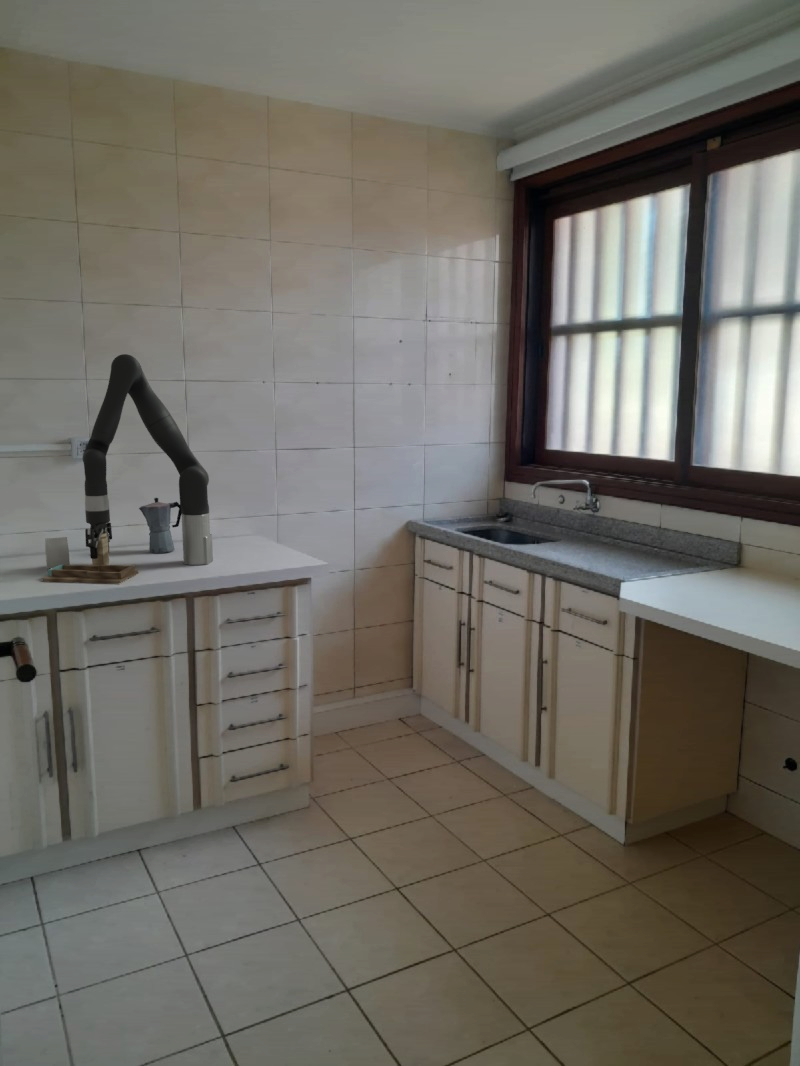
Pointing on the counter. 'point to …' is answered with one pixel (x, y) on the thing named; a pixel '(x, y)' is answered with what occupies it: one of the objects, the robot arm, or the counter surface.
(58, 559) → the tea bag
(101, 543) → the maple peg
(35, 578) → the counter surface
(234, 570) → the counter surface
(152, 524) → the moka pot
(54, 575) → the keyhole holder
